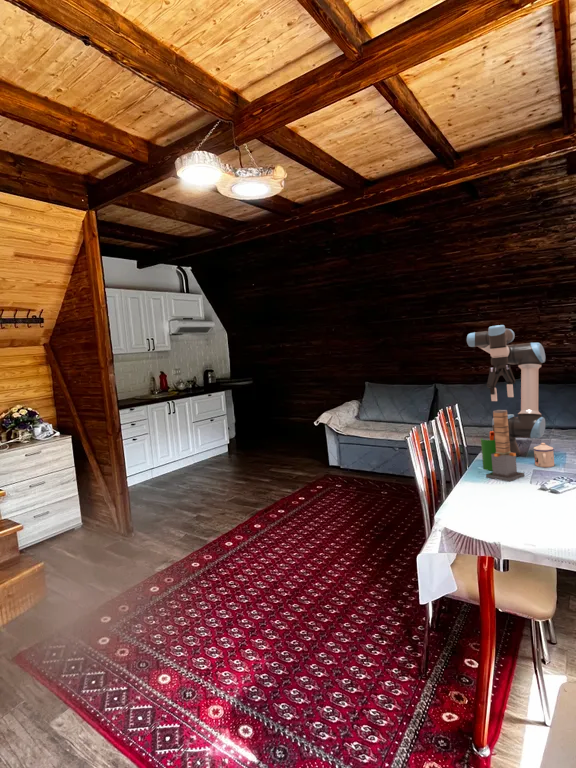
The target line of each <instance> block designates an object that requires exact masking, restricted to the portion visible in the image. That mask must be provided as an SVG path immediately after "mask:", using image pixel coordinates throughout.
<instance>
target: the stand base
mask: <svg viewBox="0 0 576 768" xmlns="http://www.w3.org/2000/svg"><path fill="white" fill-rule="evenodd" d="M491 457H492V470H493V471H490V472H489V473H486V474H485V478H487V479H492V480H493V479H494V480H499V481H504V482H508V483H509V482H513V481H515V480H517V479H520V478H524V477H525V473H524V472H519V471H518V469H517V468H518V467H517V466H518V465H517V456H516V453H513V452H511V453H510V454H507V455H501V454H500V453H492V454H491Z"/></svg>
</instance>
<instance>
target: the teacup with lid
mask: <svg viewBox="0 0 576 768" xmlns="http://www.w3.org/2000/svg"><path fill="white" fill-rule="evenodd" d="M554 450H555V449H554V447H553V446H549V445H548V444H546V443H545V442H541V443H540V444H538V445H537V446H534V447H533V454H534V455H533V456H534V465H535V466H536V467H539V468H551V467H553V468H554V466H555V456H554Z"/></svg>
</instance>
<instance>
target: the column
mask: <svg viewBox="0 0 576 768" xmlns="http://www.w3.org/2000/svg"><path fill="white" fill-rule="evenodd" d="M507 414H508V410H507V409H496V410H493V411H492V415H493V416H492V417H493V418H494V430H495V432H494V433H495V443H496V453H500V454H501V455H507V454H510V453H511V451H510V441H509V429H508V427H509V426H508V415H507Z"/></svg>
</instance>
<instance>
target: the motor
mask: <svg viewBox="0 0 576 768" xmlns="http://www.w3.org/2000/svg"><path fill="white" fill-rule="evenodd" d="M480 445H481V458H482V469H483V470H486V471H490V472H493V470H492V457H491V454H492V453H496V443H495V440H494V431H493V430H492V431H491V430H490V431H489V439H484V438H483V437H482V438H480Z"/></svg>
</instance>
